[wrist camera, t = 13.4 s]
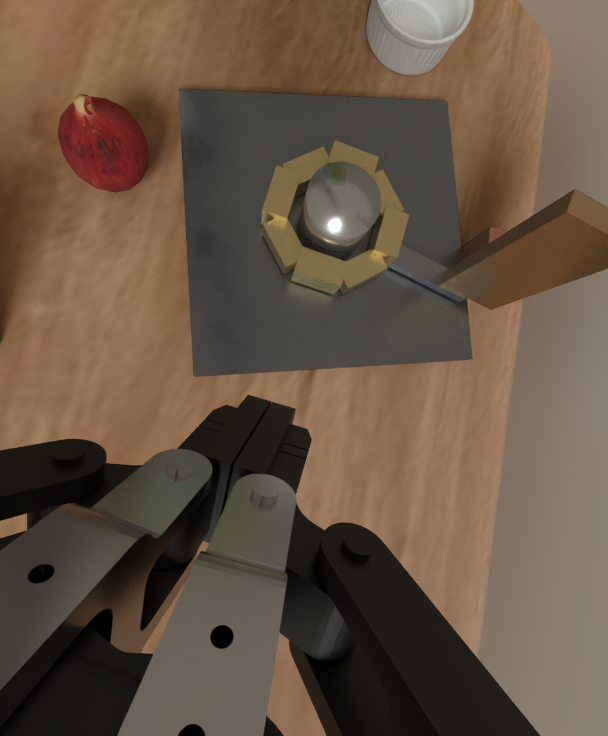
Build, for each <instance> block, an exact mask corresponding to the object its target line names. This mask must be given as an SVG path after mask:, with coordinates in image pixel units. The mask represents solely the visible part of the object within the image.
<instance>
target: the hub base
mask: <svg viewBox="0 0 608 736" xmlns="http://www.w3.org/2000/svg"><path fill="white" fill-rule="evenodd" d="M179 105H180V124H181V143H182V162H183V181H184V200H185V220H186V239H187V258H188V277H189V296H190V315H191V335H192V354H193V373H194V376H195V377H199V376H215V375H231V374H248V373H264V372H280V371H296V370H313V369H329V368H345V367H361V366H377V365H394V364H410V363H426V362H442V361H458V360H469V359H472V350H471V340H470V330H469V319H468V309H467V299H466V298H465V300H462V301H460V302H457V301H455V300H453V299H451V298H450V297H448V296H446V295H444V294H442V293H440V292H438V291H436V290H434V289H432V288H430V287H428V286H426V285H424V284H422V283H420V282H418V281H416V280H414V279H412V278H410V277H408V276H406V275H404V274H402V273H400V272H398V271H396V270H394V269H392V268H390V267H388V269H387V270H386V271H385V272H383V273H382V274H381V275H380V276H378V277H376V278H374V279H372V280H370V281H368V282H366V283H364V284H362V285H360V286H358V287H356V288H354V289H352V290H350V291H348V292H346V293H344V294H342V292H341V290H340V288H339V289H338V291H337V292H336V293H335V294H334V295H333V294H330V293H327V292H324V291H321V290H318V289H315V288H312V287H309V286H306V285H303V284H300V283H297V282H294V281H291V278H292V275H293V272H294V270H292V271H290V272H288V273H285V274H283V272H282V270H281V268H280V267H279V265H278V263H277V261H276V259H275V257H274V255H273V253H272V252H271V250H270V248H269V246H268V244H267V242H266V240H265V238H264V237H263V235H262V228H263V225H261V220H262V209H263V206H264V203H265V199H266V196H267V193H268V190H269V187H270V184H271V181H272V178H273V175H274V172H275V169H276V166H277V165H278V166H281V167H282V164H284V163H286V162H289V161H291V160H293V159H295V158H298V157H300V156H302V155H305V154H307V153H309V152H312V151H314V150H316V149H319V148H321V147H324V149H325V151H326V153H327V154H328V156H329V155H330V152H331V150H332V147H333V144H334V141H335V140H336V141H339V142H341V143H344V144H347V145H349V146H352V147H354V148H357V149H359V150H362V151H365V152H367V153H370V154H372V155H375V156H378V157H379V159H378V162H377V166H376V169H375V172H374V173H376V172H378V171H380V170H382V169H383V171H384V173H385V174H386V176H387V178H388V180H389V182H390V184H391V186H392V188H393V189H394V191H395V193H396V195H397V197H398V199H399V201H400V203H401V205H402V206H403V208H404V211H403V212H404V213H407V214H409V218H408V222H407V225H406V229H405V232H404V236H403V240H402V243H401V245H403V246H405V247H407V248H409V249H411V250H413V251H415V252H417V253H419V254H421V255H423V256H425V257H427V258H429V259H431V260H433V261H434V262H436V263H438V264H440V265H442V266H444V267H446V268H448V269H449V268H451V267H452V266H454V265H455V264H457V263H459V262H460V261H462V260H463V259H465V258H467V257H468V256H470V255H471V254H473V253H474V252H476V251H478V250H479V249H481V248H482V247H484V246H486V245H487V244H489V243H490V242H492V241H493V240H495V239H497V238H498V237H500V236H501V235H503V234H505V233H506V232H508V231H507V230H502V229H498V228H493V227H489V228H488V229H486V230H485V231H484V232H482V233H481V234H479V235H478V236H476V237H475V238H473V239H472V240H471V241H469V242H468V243H466V244H465V245H463V246H462V247H461V237H460V227H459V217H458V206H457V196H456V186H455V175H454V165H453V155H452V145H451V134H450V124H449V114H448V103H447V101H433V100H411V99H390V98H368V97H346V96H325V95H303V94H282V93H260V92H239V91H217V90H196V89H179ZM380 210H381V193H380V190H379V187H378V185H377V183H376V181H375V180H374V178H373V177H372V176H371V175H370V174H369V173H368V172H367V171H366V170H365V169H363V168H362V167H360V166H358V165H356V164H353V163H349V162H333V163H329V164H327V165H325V166H323V167H321V168H320V169H319V170H318V171H316V172H315V174H314V175H313V176H312V178H311V180H310V182H309V184H308V188H307V191H306V192H304V193H302V194H299V195H297V196H296V197H295V200H294V203H293V206H292V209H291V213H290V216H289V219H288V220H289V222H290V224H291V226H292V227H293V229H294V231H295V233H296V235H297V237H298V239H299V241H300V242H301V244H302V246H303V247H306V248H309V249H311V250H314V251H317V252H320V253H323V254H326V255H329V256H331V257H334V258H337V259H340V260H343V261H348V260H350V259H352V258H354V257H356V256H358V255H360V254H362V253H364V252H366V251H367V250H368V246H369V243H370V239H371V236H372V232H373V229H374V223H375V221H376V220H377V218H378V216H379V213H380Z"/></svg>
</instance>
